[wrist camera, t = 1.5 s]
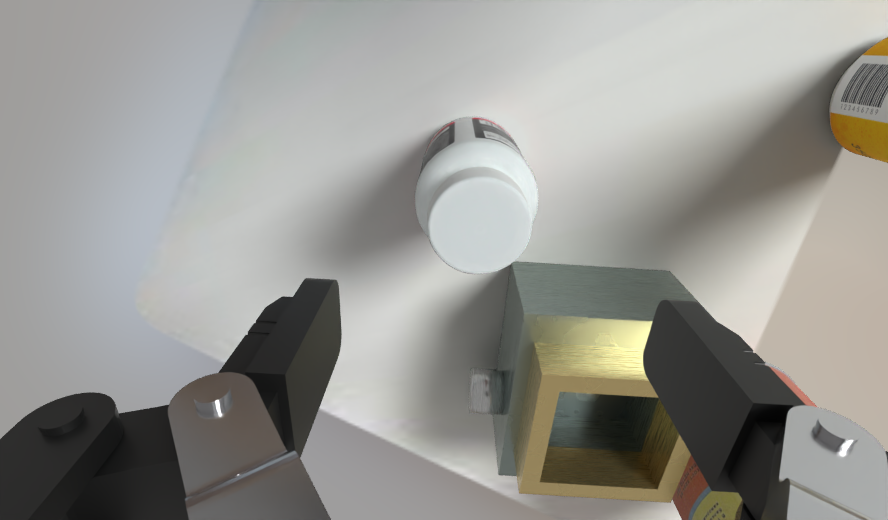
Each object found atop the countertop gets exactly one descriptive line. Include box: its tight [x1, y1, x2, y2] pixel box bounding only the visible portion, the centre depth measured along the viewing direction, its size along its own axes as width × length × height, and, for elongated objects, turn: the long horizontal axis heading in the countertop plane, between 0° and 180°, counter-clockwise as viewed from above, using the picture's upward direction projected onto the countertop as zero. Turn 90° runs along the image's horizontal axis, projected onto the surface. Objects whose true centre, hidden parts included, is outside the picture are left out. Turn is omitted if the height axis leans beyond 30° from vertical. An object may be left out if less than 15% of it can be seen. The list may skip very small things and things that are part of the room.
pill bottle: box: [415, 117, 538, 274], centre depth 21 cm, size 5×5×10 cm
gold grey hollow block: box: [469, 262, 717, 502], centre depth 27 cm, size 12×12×8 cm
